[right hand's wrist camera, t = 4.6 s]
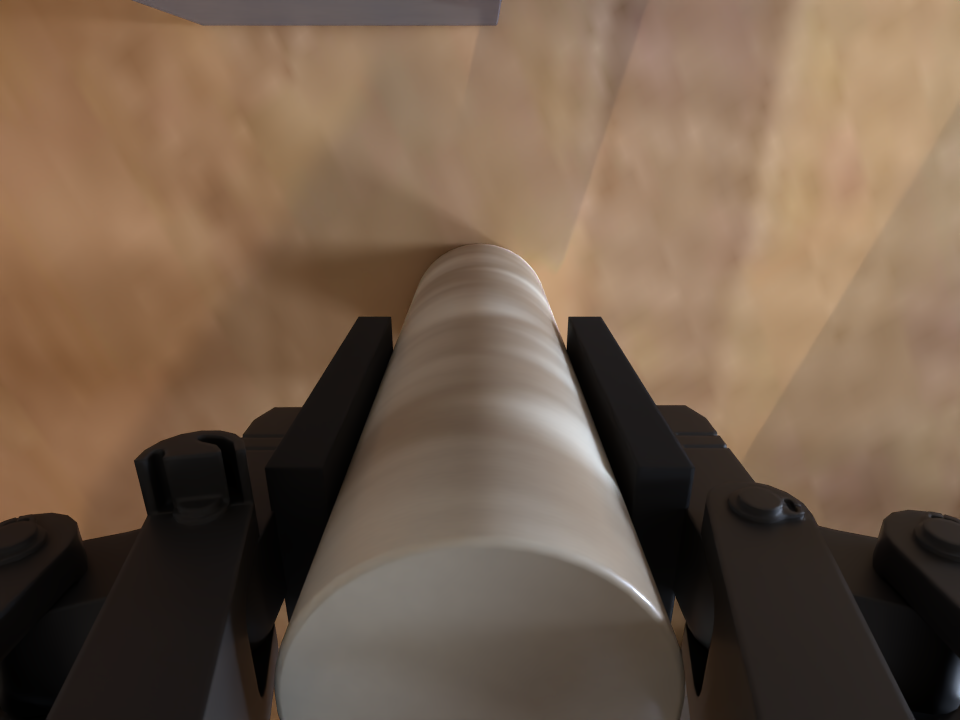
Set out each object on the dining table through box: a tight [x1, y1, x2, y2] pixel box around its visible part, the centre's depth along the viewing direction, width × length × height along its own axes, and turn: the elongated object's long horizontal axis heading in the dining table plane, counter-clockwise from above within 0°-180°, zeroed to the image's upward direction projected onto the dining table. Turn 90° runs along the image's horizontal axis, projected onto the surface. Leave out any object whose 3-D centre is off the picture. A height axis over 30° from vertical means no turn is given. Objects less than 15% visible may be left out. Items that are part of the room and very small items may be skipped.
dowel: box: [274, 244, 685, 720], centre depth 13 cm, size 4×4×14 cm
